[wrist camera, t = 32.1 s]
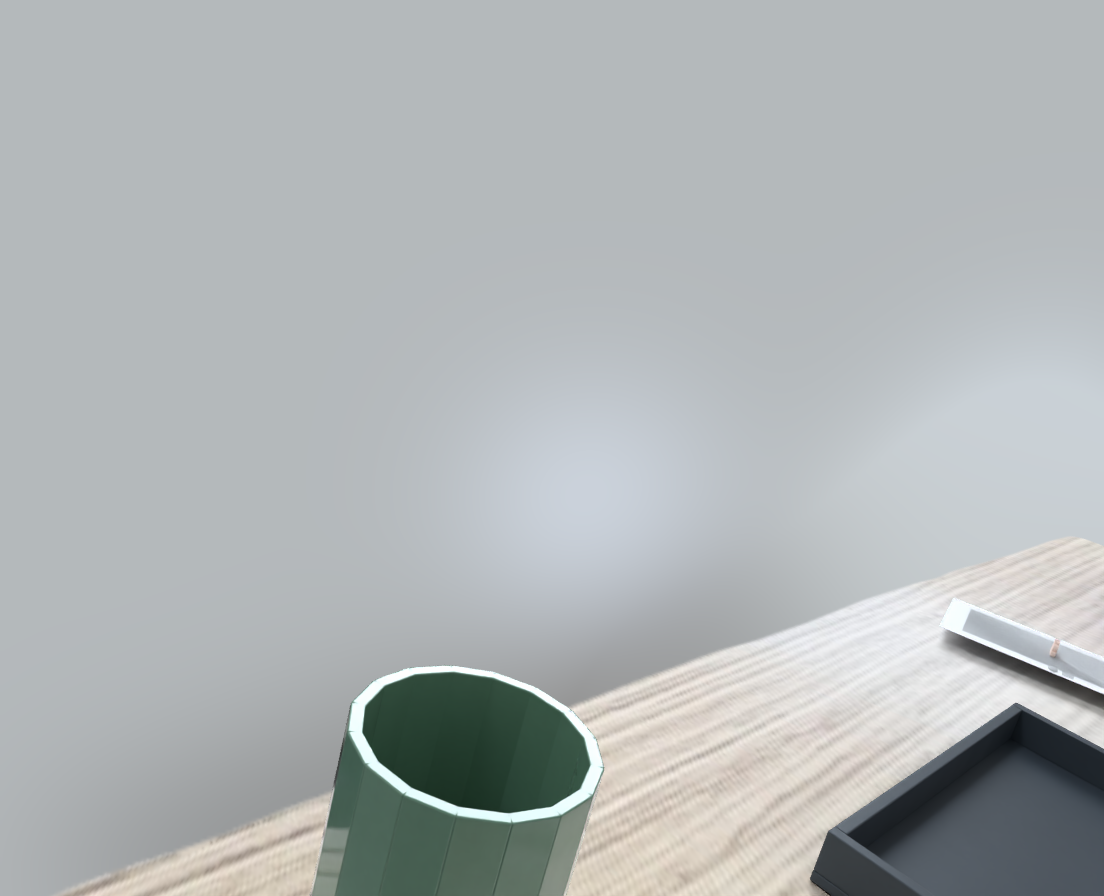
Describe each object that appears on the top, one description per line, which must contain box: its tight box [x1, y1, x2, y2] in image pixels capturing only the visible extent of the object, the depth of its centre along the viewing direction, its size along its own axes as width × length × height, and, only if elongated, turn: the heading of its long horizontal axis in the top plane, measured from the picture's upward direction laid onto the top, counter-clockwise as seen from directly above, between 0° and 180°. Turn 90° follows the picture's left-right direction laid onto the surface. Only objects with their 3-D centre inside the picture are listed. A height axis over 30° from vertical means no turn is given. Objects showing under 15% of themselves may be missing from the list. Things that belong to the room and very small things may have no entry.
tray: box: [810, 703, 1104, 896], centre depth 45 cm, size 23×13×2 cm, turn 135°
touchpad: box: [939, 598, 1104, 694], centre depth 71 cm, size 8×15×2 cm, turn 60°
